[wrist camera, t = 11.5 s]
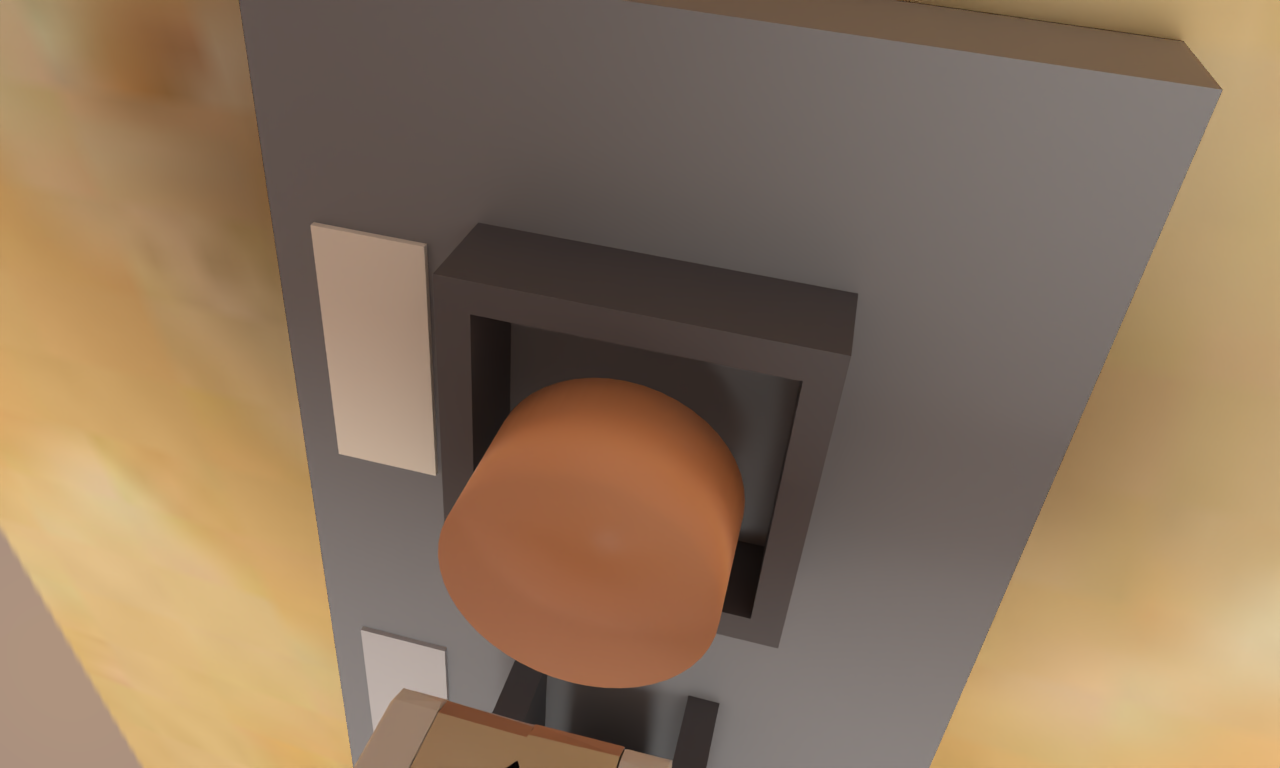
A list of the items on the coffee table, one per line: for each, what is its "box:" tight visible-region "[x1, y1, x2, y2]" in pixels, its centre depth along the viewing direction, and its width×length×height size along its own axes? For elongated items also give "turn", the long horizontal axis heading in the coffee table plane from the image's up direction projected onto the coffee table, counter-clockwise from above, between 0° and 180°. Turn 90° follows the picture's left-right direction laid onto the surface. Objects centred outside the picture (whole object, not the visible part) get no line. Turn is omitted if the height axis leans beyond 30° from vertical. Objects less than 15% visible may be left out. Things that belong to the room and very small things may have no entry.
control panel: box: [239, 0, 1222, 768], centre depth 20 cm, size 30×12×4 cm, turn 175°
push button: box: [438, 378, 745, 688], centre depth 13 cm, size 4×4×2 cm
